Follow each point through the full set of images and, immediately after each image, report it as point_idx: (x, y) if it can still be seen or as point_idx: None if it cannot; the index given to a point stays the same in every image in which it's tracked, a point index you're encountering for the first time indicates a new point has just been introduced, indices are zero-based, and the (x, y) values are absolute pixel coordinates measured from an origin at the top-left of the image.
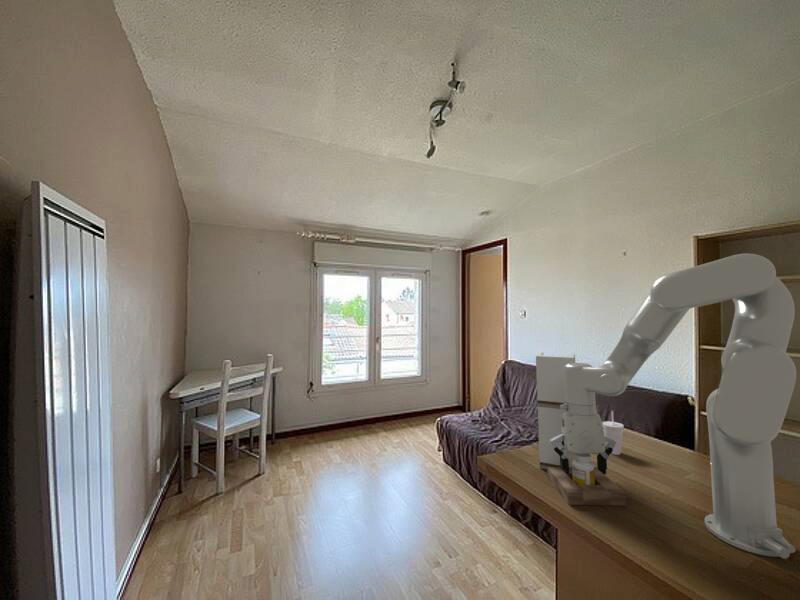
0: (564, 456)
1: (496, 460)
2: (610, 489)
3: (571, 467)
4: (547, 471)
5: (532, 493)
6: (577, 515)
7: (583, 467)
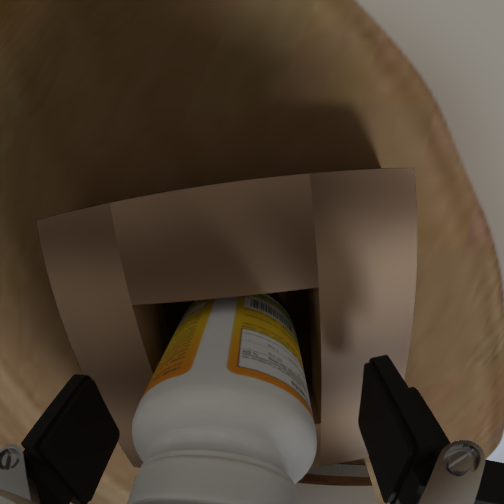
0: (452, 467)
1: None
2: (95, 255)
3: None
4: None
5: (495, 259)
6: (363, 68)
7: (242, 401)
